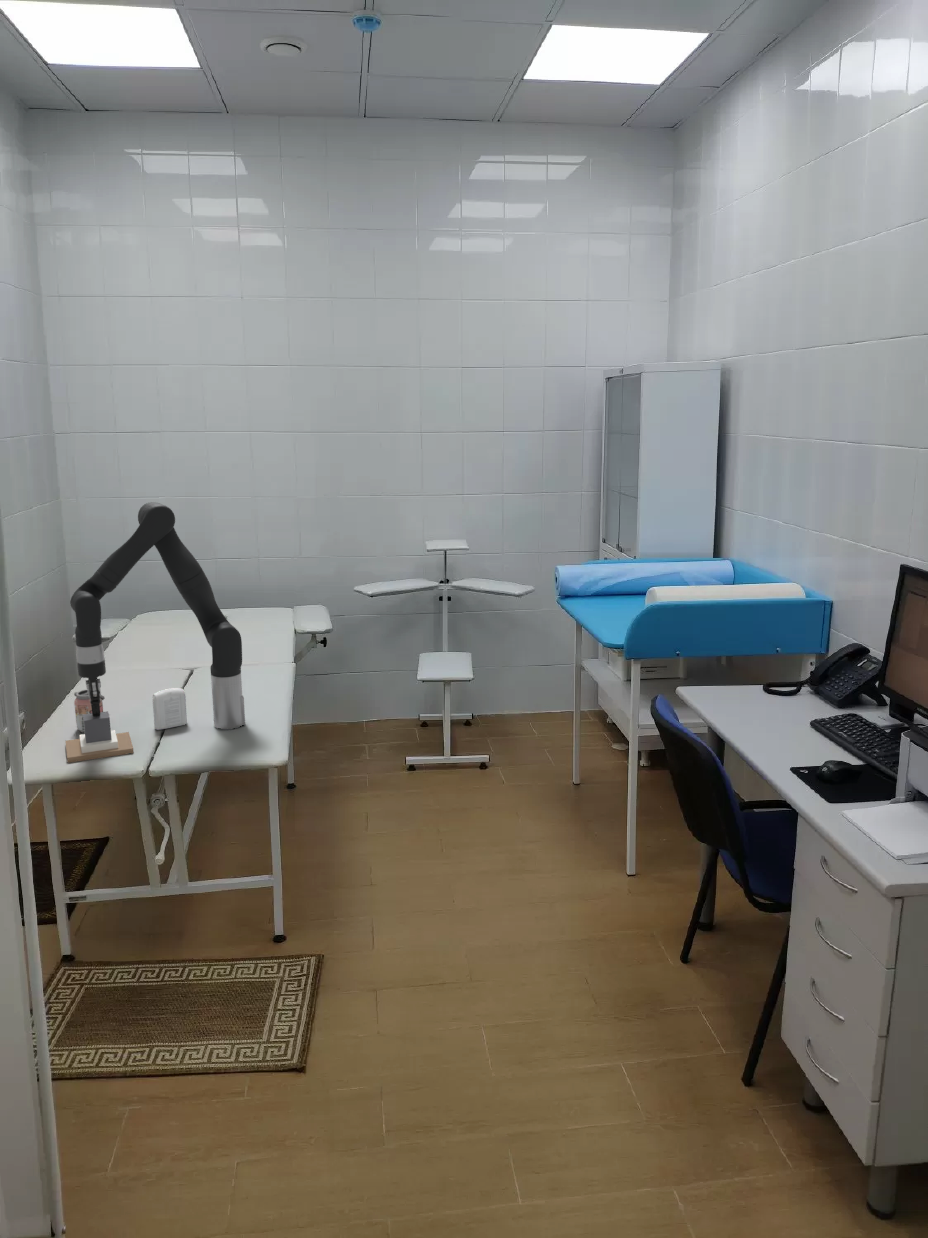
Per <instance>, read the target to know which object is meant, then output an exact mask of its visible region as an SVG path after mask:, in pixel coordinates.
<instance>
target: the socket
mask: <svg viewBox="0 0 928 1238" xmlns="http://www.w3.org/2000/svg"><path fill="white" fill-rule="evenodd" d="M130 735H131V734H130V732H129V731H126V732H119V733H116V730H115V729H111V738H112V740H107V741H100V742H92V743H86V739H85V733H83V734H79V738H75V739H69V740H65V750H66V759H67V763H68V764H69V763H75V762H81V761H88V760H97V759H102V758H103V759H104V758H110V757H117V756H123V755H129V754H128V753H131V754H134V747H133V743H132V740H131V736H130Z"/></svg>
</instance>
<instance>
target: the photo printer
mask: <svg viewBox="0 0 928 1238" xmlns="http://www.w3.org/2000/svg"><path fill="white" fill-rule="evenodd" d="M186 697H187V696H186V692H185V690H184V689H183V688H180V687H170V688H166V689H162V690H159V691H157V692H154V693H153V695H152V710H153V724H154V726H153V727H154V729H155V730H158V731H160V730H165V729H171V728H175V727H180V726H186V725H187V724H188V715H187V713H188V712H187V699H186ZM185 724H186V725H185Z"/></svg>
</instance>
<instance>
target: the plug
mask: <svg viewBox="0 0 928 1238" xmlns="http://www.w3.org/2000/svg"><path fill="white" fill-rule="evenodd" d="M110 719H111V718H110V714H109V711H103V712H100V716H95V717H94V716H92V713H91V714H83V721H84V731H85V733H84V734H85V739H86V743H92V742H100V741H107V740H112V738H111V730H112V729H111V720H110Z"/></svg>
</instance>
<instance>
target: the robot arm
mask: <svg viewBox="0 0 928 1238" xmlns="http://www.w3.org/2000/svg"><path fill="white" fill-rule="evenodd" d="M137 513H138V514H137V521H138V527H137V528H136V529H135V532H133V534H132V535H131V536H130V537H129V539H127V540H126V541H125V542H124V543H123V544H122V545H121V546H119V547H118V548H117V549H116V550H115V551H113V552H112V553H111V554H110V555H109V556H108V557H107V558H106V559H105V560H104V562H103V563H101V565H100V566H98V569H97V570H96V571H95V572H94V573H93V575H92V576H91V577H90V578H88V579H87V580H86V581H84V582H83V584H81V585H80V586H79V587H78V588H77V589H76V590H75V592H73V594H72V596H71V597H70V607H71V609H72V610H73V611H74V614H75V619H76V620H75V621H76V627H75V629H74V637H75V646H76V649H75V654H76V655H75V656H76V664H77V665H76V666H77V674H78V676H79V677H80V678H83V679H85V686H86V689H87V691H88V697H89V698H90V704H91V708H92V716H94V717H95V716H100V705H99V704H100V696H101V695H102V692H101V687H102V682H101V679H100V678H98V677H102V676H105V674H106V673H107V670H106V668H107V667H106V657H105V649H104V646H103V645H104V644H103V638H102V630H101V625H102V606H101V602H100V601H101V599H102V598H103V597H104V596H105V595H106V594H109V593H111V592H113V591H114V590H115V589H116V588H117V587H118V586H119V584H121V582H122V581H123V579H124V578H125V577H126V576H127V575H128V574H129V572H130V571H131V570H132V569H133V568H134V566H136V564H137V563H138V562H139V561H140V560H141V558H143V557H144V556H145V555H146V554H147V553H148V551H149V550H151V549H153V547H154V548H155V549H156V550H157V552H158V554H159V556H160V558H161V560H162V562H163V565H164V566H165V568H166V570H167V573H168V574H169V575H170V578H171V580H172V583H174V585H175V587H176V589H177V591H178V592H179V594H180V595H181V597H182V599H183V600H184V602H185V603H186V604H187V606H188V607H189V609H190V610H191V611H192V612H193V614H194V615H195V617H196V618H197V621H198V623H199V626H200V627H201V630H202V633H203V635H204V636H205V639H206V642H207V644H209V646H210V648H211V655H212V657H211V658H212V661H211V663H212V664H211V665H210V667H209V669H210V680H211V683H210V684H211V698H212V699H211V700H212V713H213V715H212V716H213V725H214V727H215V728H216V729H218V728H221V729H220V730H232V729H231V728H235V729H238V728H240V726H241V727H243V726H242V725H244V726H246V712H245V711H246V710H245V697H244V695H243V685H242V684H243V681H242V666H243V665H242V664H243V641H242V636H241V635H242V634H241V633H240V631H239V630H238V629H237V628H236V627H235V626H234V625H232V624H231V622H229V620H228V618H226V616H225V615H224V614H223V612H222V611H221V609H220V607H219V605H218V604H217V602H216V599H215V596H214V594H215V593H214V592H213V589H212V586H211V583H210V581H209V579H208V577H207V575H206V574H205V572H204V569H203V567H202V566H201V564H200V563H199V562H198V561H197V559H196V558H195V556H194V555H193V554H192V553H191V552H190V550H189V549H188V548H187V546H186V545H185V544H184V543H183V542H182V540H181V539H180V537H179V535H178V534H177V531H176V529H175V523H176V515H175V513H174V511H173V510H172V508H170V507H168V506H167V505H165V504H162V503H159V502H156V501H155V502H154V501H153V502H152V501H150V502H146V503H144V504H143V505H142V506H140V509H139V510H138V512H137Z"/></svg>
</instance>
